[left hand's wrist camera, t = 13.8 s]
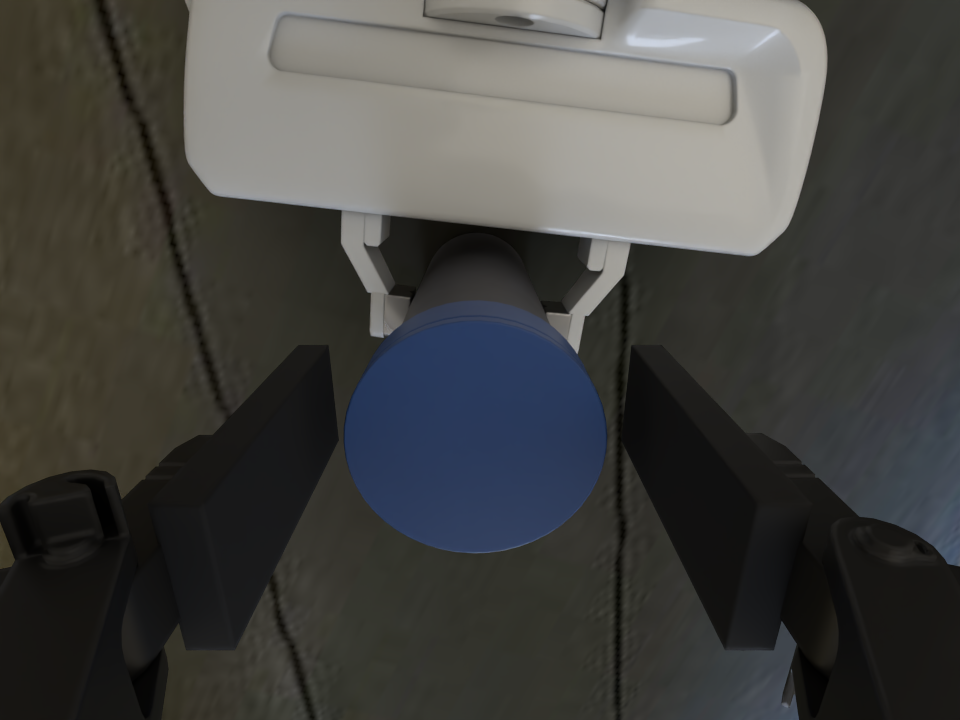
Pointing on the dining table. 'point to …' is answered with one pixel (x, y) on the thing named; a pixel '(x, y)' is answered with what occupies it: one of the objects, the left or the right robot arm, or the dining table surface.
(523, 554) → the dining table surface
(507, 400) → the lid
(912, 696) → the left robot arm
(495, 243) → the jar
